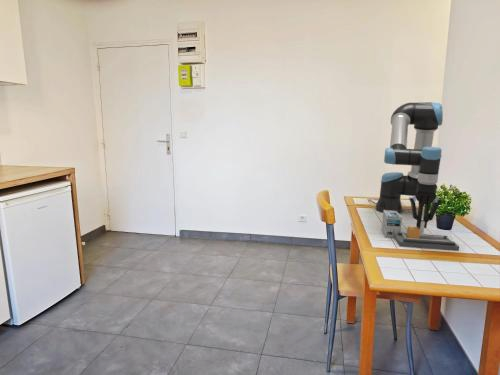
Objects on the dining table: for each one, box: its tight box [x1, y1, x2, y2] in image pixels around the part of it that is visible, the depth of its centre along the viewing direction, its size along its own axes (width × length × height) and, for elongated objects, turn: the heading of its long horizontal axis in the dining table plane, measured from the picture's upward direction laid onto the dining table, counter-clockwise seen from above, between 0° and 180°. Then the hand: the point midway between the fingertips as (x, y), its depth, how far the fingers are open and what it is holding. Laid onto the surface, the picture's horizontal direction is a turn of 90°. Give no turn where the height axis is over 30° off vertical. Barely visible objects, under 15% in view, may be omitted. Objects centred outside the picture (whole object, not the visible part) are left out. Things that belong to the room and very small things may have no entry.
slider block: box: [406, 226, 420, 239], centre depth 148 cm, size 4×4×5 cm
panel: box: [393, 232, 460, 252], centre depth 148 cm, size 10×24×3 cm, turn 80°
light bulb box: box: [381, 210, 403, 239], centre depth 159 cm, size 11×7×11 cm, turn 169°
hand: (420, 234), depth 148 cm, fingers closed
